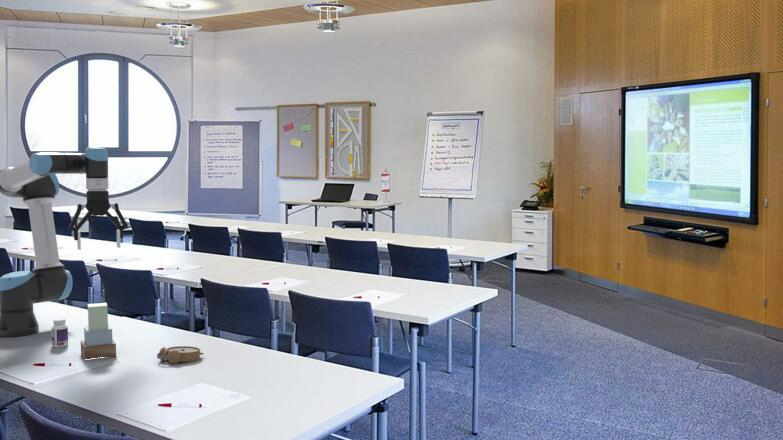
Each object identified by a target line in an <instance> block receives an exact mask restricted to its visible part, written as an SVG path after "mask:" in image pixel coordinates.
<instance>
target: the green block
mask: <svg viewBox="0 0 783 440" xmlns="http://www.w3.org/2000/svg"><path fill="white" fill-rule="evenodd" d="M87 321H88V322H87V324H88V326H87V327H89V331H90V330H102V329H108V325H109V317H108V303H107V302H99V303H96V302H95V303H87Z"/></svg>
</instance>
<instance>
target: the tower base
mask: <svg viewBox="0 0 783 440" xmlns="http://www.w3.org/2000/svg"><path fill="white" fill-rule="evenodd" d="M112 342H113V344H103V345H94V346H87V345H86V343H85V339H84V340H80V355H81V354H82V355H83V357H84V359H91V358H98V357H99V358H100V357H111V358H110V359H112V358H117V343H116V342H115V341H114V339H113V338H112ZM82 355H81V356H82ZM83 357H82V358H83ZM84 359H83V360H84Z"/></svg>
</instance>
